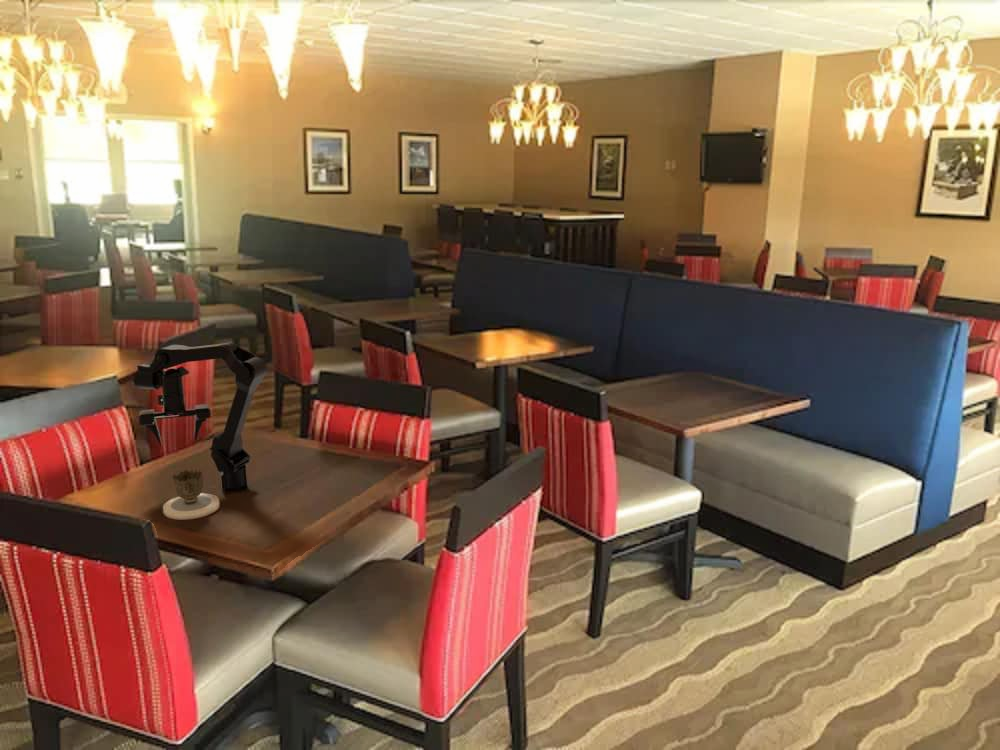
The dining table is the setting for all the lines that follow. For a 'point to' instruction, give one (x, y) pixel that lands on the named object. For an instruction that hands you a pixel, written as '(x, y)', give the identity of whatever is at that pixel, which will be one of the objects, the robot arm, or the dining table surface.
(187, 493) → the cup
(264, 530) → the dining table surface
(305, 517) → the dining table surface
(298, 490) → the dining table surface
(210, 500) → the hub plate
